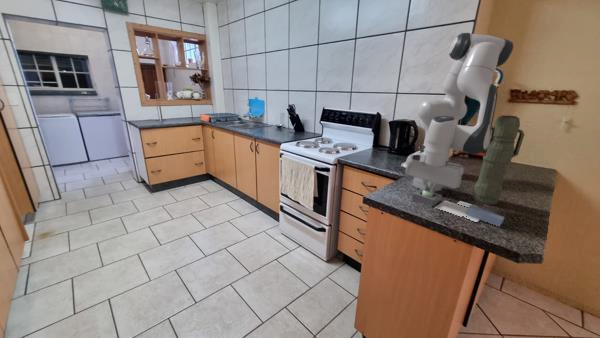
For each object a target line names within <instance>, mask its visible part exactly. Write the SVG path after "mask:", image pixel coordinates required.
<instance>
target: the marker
mask: <svg viewBox="0 0 600 338" xmlns="http://www.w3.org/2000/svg"><path fill="white" fill-rule="evenodd" d="M474 205H475V204H472V205H471V206H469V208H468V211H467V213H466V214H468V215H470V216H472V217H475V218H477V219H480V220H479V221H481V222H485V223H487V222H488V223H487V224H489V223H490V224H491V225H492V224H493V225H492V226H494V225H496V226H495V227H497V226H499V227H498V228H500V227H501V226H502V225H503V222H504V220H505V216H504V215H503V216H502V215H500V214H498V213H495V212H492V211H490V210H488V209H484V208H482V207H479V206H477V205H475V206H474ZM501 224H502V225H501ZM500 225H501V226H500Z"/></svg>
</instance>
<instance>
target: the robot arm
mask: <svg viewBox="0 0 600 338" xmlns="http://www.w3.org/2000/svg"><path fill="white" fill-rule="evenodd" d="M513 49H514V43H513V42H512V41H511V40H509V39H507V38H504V39H503V38H501V37H497V36H493V35H489V34H487V35H485V34H479V33H470V32H461V33H459V34H458V35H456V37H455V38H454V39H453V41H452V42H451V44H450V47H449V58H451V59H452V60H454V62H453V64H452V66H451V67H450V68H449V69H450V70H449V72H448V73H447V75H446V78H445V79H444V81H443V83H442V90H443V92H445V96H444V98H443V99H428V100H424V101H422V102H421V103H420V104H419V106H418V108H417V116H418V118H419V120H421V121H422V122H423V125H424V128H425V132H424V133H425V134H424V141H423V144H421V145H419V146H418V149H419V150H418V151H415V152H414V153H411V154H410V155H408V156H407V158H406V161H405V162H402V163H401V165H400V167H402V168H404V169H405V174H406V176H409V177H413V178H414V177H416V178H420V179H423V184H424V186H425V187H424V190H425V191H428V192H433V189H434V187H435V186H437V185H438V184H440V185H442V186H444V187H446V188H447V187H448V188H450V189H451V188H452V189H454V190H455V189H457V188H459V187H460V186H461V183H462V178H463V177H462V176H463V175H464V172H465V168H464V167H463V165H461V164H460V163H456V162H453V161H449V158H450V153H451V150H456V151H459V152H463V153H467V154H470V155H479V154H482V153H481V152H483V151H485V150H486V149H487V148H488V146H489V144H490V139H491V136H492V135H491V134H492V130H491V128H492V127H493V121H494V116H495V111H496V107H497V101H498V99H497V98H498V87H497V85H495V84H493V76H494V73H495V71H496V68H499V67H501V66H503V65H504V64H505V63H506V62H507V61H508V60H509V59H510V57H511V56H512V55H513ZM466 96H467V97H469V98H471V99H474V100H476V101H478V102H479V104H480V106H479V111H478V117H477V121H476V124H475V125H474V126H471V125H461V124H456V121H458V120H462V119H463V118H464V117H465V116H466V114H467V112H468V106H467V104H466V102H465V99H466ZM428 181H430V182H432V185H433V186H432V187H430V186H428V184H427V182H428Z"/></svg>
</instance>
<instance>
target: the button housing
mask: <svg viewBox="0 0 600 338" xmlns="http://www.w3.org/2000/svg"><path fill="white" fill-rule="evenodd" d="M422 192H423V189H419V190H417V191H415V192H414V193H413V194H412V199H414V200H416V201H419V202H421V203H420V204H422V203H424V204H423V205H425V204H427V205H430V206H433V207H435V206H436V205H437V203H438V204H440V203H441V201H442V196H443V194H439V193H437V192H434V193H433V197H432V198H430V197H427V196H424V195H422ZM412 199H411V200H412ZM414 200H413V201H414ZM416 201H415V202H416ZM419 202H418V203H419ZM435 204H436V205H435ZM427 205H426V206H427ZM430 206H429V207H430Z"/></svg>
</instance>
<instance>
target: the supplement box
mask: <svg viewBox="0 0 600 338" xmlns="http://www.w3.org/2000/svg"><path fill="white" fill-rule="evenodd" d="M427 184H428V186H430V187H432V186H433V185H432V182H430V181H428V182H427ZM413 186H414V187H413ZM412 187H413V188H416V189H418V188H419V190H421V189H424V187H425V186H424V184H423V179H420V178H416V177H413V183H412ZM442 188H443V185H440V184H438V185H437V186H435V187H434V189H433V192H434V193H436V192H438V191H442Z"/></svg>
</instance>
